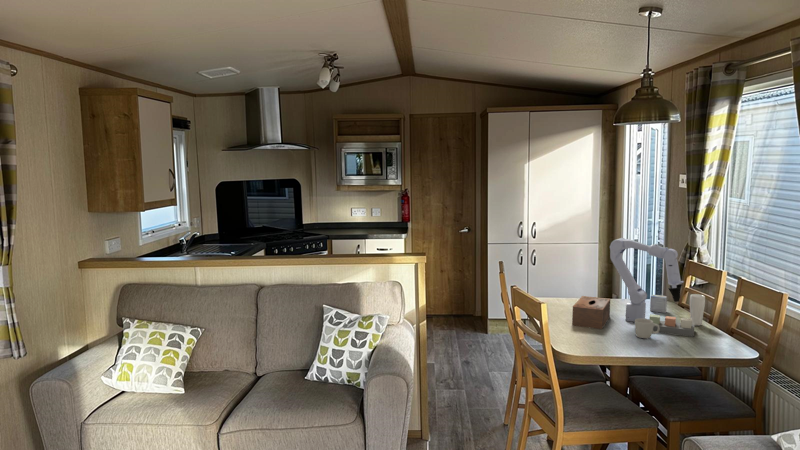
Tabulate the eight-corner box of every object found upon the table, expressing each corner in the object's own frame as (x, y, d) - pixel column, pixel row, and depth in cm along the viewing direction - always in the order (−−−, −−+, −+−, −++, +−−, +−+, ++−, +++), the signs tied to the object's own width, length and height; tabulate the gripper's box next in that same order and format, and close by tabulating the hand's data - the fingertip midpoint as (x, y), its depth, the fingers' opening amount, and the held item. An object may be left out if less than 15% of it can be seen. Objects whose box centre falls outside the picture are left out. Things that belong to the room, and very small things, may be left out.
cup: (658, 336, 269) (659, 319, 269) (659, 341, 262) (660, 324, 261) (633, 333, 273) (634, 317, 272) (634, 338, 265) (635, 322, 265)
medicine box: (666, 311, 314) (667, 296, 313) (665, 313, 310) (666, 297, 309) (651, 309, 318) (651, 294, 317) (649, 311, 314) (650, 295, 313)
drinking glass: (705, 326, 284) (707, 297, 283) (690, 325, 286) (692, 296, 284) (701, 322, 291) (702, 294, 289) (686, 322, 292) (688, 293, 291)
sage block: (649, 324, 280) (649, 316, 280) (650, 322, 284) (650, 314, 284) (659, 325, 278) (659, 317, 278) (659, 323, 282) (660, 315, 282)
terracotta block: (664, 326, 277) (665, 318, 276) (665, 323, 281) (665, 316, 280) (675, 327, 275) (675, 319, 274) (675, 325, 279) (675, 317, 278)
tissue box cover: (601, 329, 281) (602, 309, 280) (572, 325, 288) (572, 306, 287) (609, 317, 304) (610, 298, 302) (581, 313, 310) (582, 295, 309)
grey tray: (645, 330, 278) (645, 324, 278) (647, 324, 288) (648, 319, 287) (693, 336, 268) (694, 330, 268) (694, 330, 278) (694, 324, 277)
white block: (680, 328, 273) (681, 320, 273) (681, 325, 277) (681, 317, 277) (691, 329, 271) (691, 321, 271) (691, 327, 275) (691, 319, 275)
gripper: (681, 274, 275) (685, 302, 275) (682, 270, 288) (686, 297, 288) (665, 275, 278) (669, 303, 278) (667, 271, 291) (671, 297, 291)
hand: (677, 300), depth 283 cm, fingers open, 7 cm apart
